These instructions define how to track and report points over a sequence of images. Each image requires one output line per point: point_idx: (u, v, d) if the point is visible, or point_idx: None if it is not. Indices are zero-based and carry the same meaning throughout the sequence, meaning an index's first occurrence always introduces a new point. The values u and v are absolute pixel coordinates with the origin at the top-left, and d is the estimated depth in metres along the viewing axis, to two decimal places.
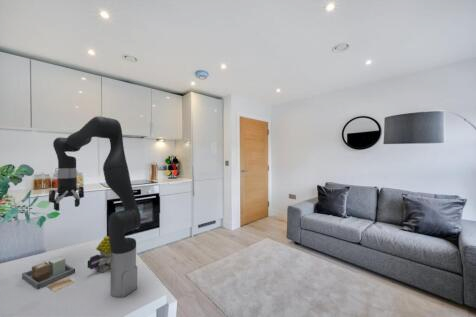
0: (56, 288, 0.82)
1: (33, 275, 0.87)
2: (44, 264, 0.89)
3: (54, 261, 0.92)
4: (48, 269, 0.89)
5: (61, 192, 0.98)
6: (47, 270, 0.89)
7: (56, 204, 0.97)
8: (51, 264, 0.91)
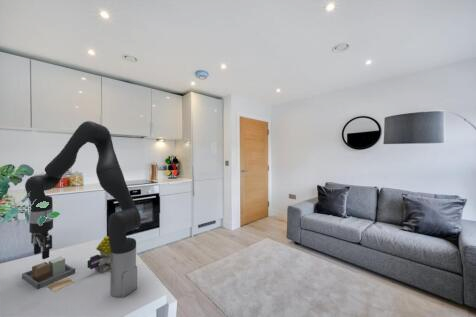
0: (56, 288, 0.82)
1: (33, 275, 0.87)
2: (44, 264, 0.89)
3: (54, 261, 0.92)
4: (48, 269, 0.89)
5: None
6: (47, 270, 0.89)
7: (48, 250, 0.87)
8: (51, 264, 0.91)
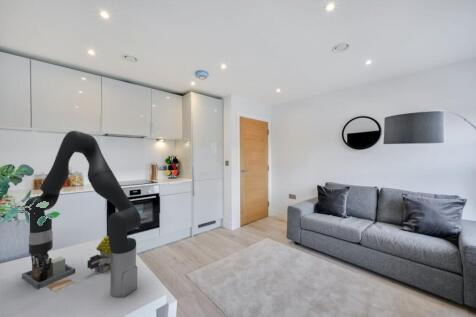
0: (56, 288, 0.82)
1: (33, 275, 0.87)
2: None
3: (54, 261, 0.92)
4: None
5: None
6: None
7: (46, 272, 0.88)
8: (51, 264, 0.91)
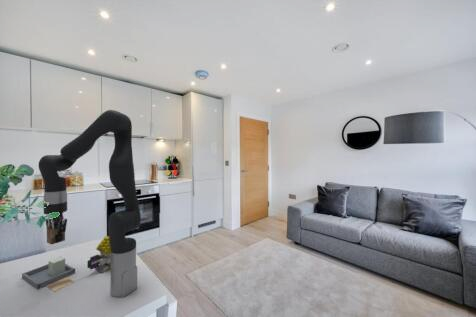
0: (56, 288, 0.82)
1: (48, 237, 0.84)
2: None
3: (54, 261, 0.92)
4: None
5: None
6: None
7: (61, 234, 0.85)
8: (51, 264, 0.91)
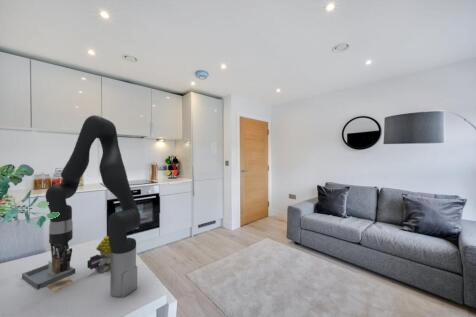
0: (56, 288, 0.82)
1: (53, 266, 0.83)
2: None
3: None
4: None
5: None
6: None
7: (66, 263, 0.84)
8: (51, 264, 0.91)
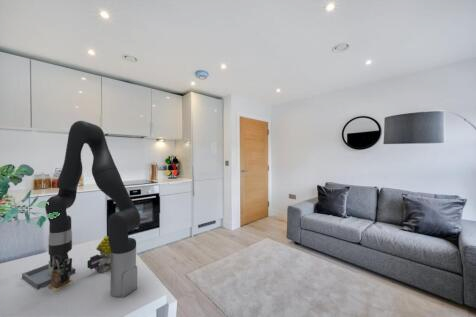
0: None
1: (53, 280, 0.83)
2: None
3: None
4: (68, 274, 0.86)
5: None
6: None
7: (67, 273, 0.84)
8: None
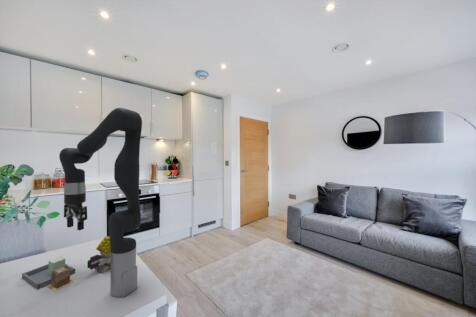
0: None
1: (53, 280, 0.83)
2: (64, 269, 0.86)
3: (54, 261, 0.92)
4: (68, 274, 0.86)
5: None
6: (67, 275, 0.85)
7: (83, 222, 0.88)
8: (51, 264, 0.91)
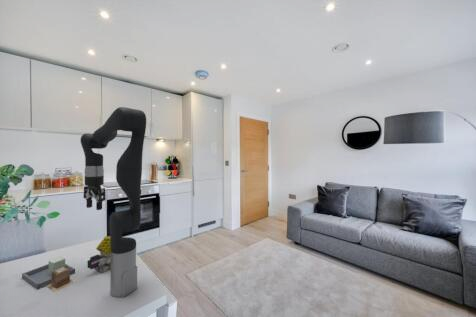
0: None
1: (53, 280, 0.83)
2: (64, 269, 0.86)
3: (54, 261, 0.92)
4: (68, 274, 0.86)
5: None
6: (67, 275, 0.85)
7: (101, 202, 0.95)
8: (51, 264, 0.91)
